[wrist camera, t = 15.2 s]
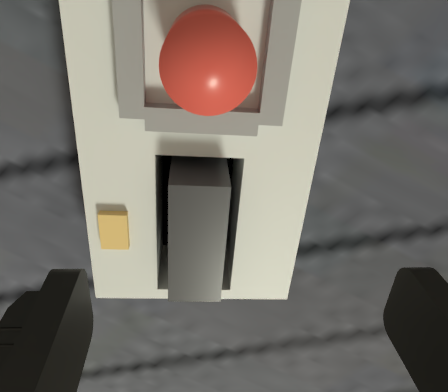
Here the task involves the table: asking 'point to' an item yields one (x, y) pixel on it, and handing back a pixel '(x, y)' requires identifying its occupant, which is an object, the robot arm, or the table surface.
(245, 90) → the cap
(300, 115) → the panel
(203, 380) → the table surface
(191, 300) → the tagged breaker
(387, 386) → the table surface
